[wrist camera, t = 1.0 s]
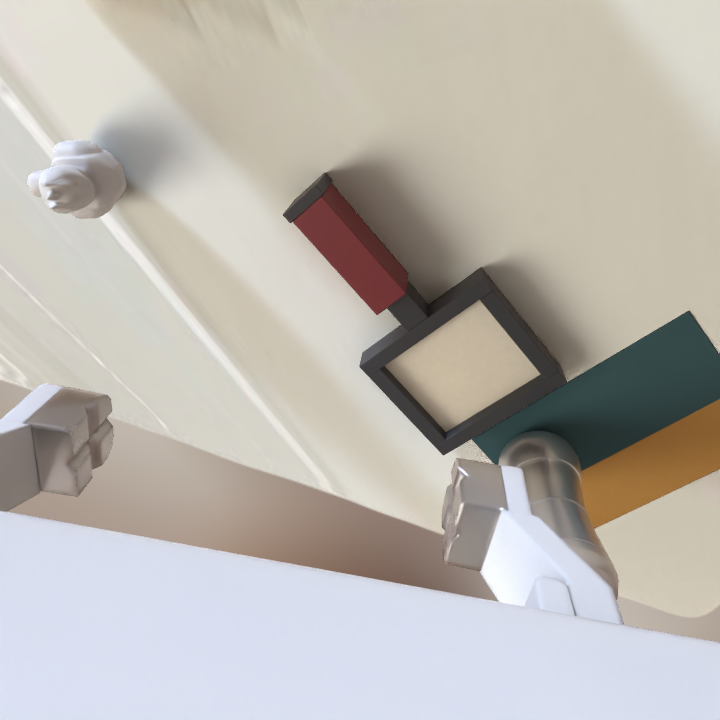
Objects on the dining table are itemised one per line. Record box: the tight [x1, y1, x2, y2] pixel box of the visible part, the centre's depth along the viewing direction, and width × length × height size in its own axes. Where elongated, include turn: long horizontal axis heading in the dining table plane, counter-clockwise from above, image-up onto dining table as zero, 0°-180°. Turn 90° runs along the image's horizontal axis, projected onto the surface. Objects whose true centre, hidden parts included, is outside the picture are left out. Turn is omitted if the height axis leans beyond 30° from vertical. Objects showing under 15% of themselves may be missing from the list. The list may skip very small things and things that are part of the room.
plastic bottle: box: [499, 431, 619, 600], centre depth 45 cm, size 6×7×20 cm
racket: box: [283, 173, 567, 455], centre depth 46 cm, size 24×12×4 cm, turn 41°
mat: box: [472, 311, 720, 528], centre depth 52 cm, size 20×15×1 cm
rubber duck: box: [27, 140, 127, 219], centre depth 42 cm, size 5×7×8 cm
